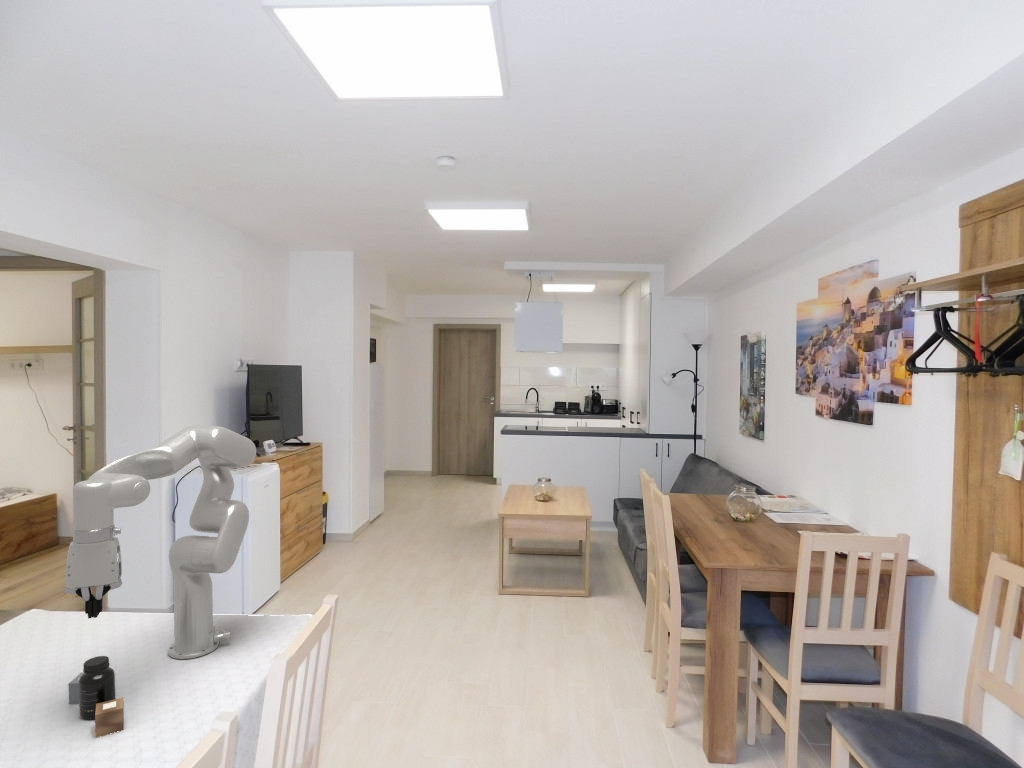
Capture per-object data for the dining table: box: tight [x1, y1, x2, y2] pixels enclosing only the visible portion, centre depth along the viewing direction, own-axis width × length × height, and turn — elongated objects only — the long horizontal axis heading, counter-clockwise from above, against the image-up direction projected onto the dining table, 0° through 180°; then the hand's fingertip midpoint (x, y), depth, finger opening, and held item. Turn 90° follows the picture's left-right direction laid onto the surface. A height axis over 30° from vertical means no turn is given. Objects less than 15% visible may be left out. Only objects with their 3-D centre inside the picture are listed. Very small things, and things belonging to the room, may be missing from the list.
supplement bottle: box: [78, 655, 117, 721], centre depth 138 cm, size 7×7×12 cm
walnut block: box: [94, 697, 125, 738], centre depth 132 cm, size 5×5×5 cm
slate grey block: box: [67, 672, 84, 705], centre depth 144 cm, size 5×5×5 cm
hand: (93, 615), depth 137 cm, fingers closed
